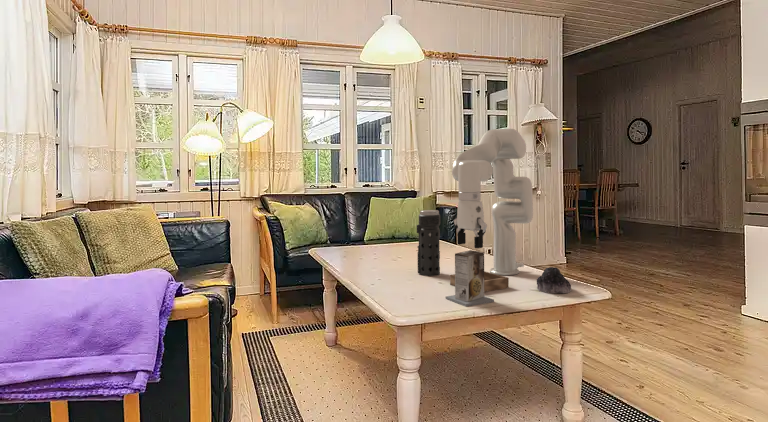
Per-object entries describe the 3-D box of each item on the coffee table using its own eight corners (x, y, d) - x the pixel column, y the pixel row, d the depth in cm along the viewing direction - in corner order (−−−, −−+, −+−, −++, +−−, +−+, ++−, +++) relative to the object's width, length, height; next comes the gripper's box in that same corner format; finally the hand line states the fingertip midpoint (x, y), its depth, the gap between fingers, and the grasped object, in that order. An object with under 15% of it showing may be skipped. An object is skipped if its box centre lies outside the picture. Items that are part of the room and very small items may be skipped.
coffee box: (470, 294, 183) (470, 249, 182) (485, 297, 178) (485, 251, 177) (454, 298, 177) (454, 252, 176) (468, 302, 172) (468, 255, 171)
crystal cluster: (555, 286, 199) (553, 261, 199) (581, 291, 187) (578, 264, 187) (528, 293, 194) (525, 267, 194) (553, 298, 182) (550, 270, 181)
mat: (472, 294, 186) (472, 292, 186) (494, 301, 175) (494, 299, 175) (445, 298, 180) (445, 296, 180) (465, 306, 169) (465, 304, 169)
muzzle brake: (417, 276, 218) (441, 276, 218) (417, 211, 216) (441, 211, 216) (416, 271, 228) (439, 271, 228) (415, 209, 225) (439, 209, 225)
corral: (482, 280, 209) (482, 270, 209) (508, 288, 195) (508, 277, 194) (450, 284, 202) (450, 274, 201) (475, 293, 187) (475, 282, 187)
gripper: (494, 197, 169) (494, 248, 170) (463, 195, 184) (463, 241, 186) (476, 199, 165) (476, 250, 167) (446, 196, 181) (446, 243, 182)
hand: (469, 245), depth 176 cm, fingers open, 9 cm apart
